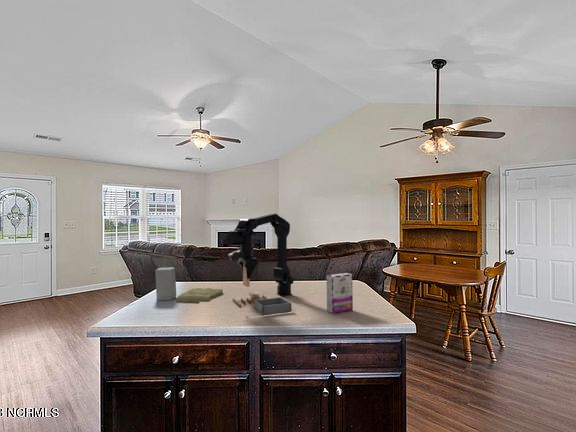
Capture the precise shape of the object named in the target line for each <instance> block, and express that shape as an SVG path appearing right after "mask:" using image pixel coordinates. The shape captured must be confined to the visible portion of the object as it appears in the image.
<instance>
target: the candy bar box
mask: <svg viewBox="0 0 576 432" xmlns="http://www.w3.org/2000/svg"><path fill="white" fill-rule="evenodd" d="M353 296H354V295H353V274H352V273H348V272H343V273H342V272H341V273H334V274H333V273H331V274H327V275H326V312H328V313H330V314H332V315H334V314H339V313H341V314H342V313H347V312H351V311H353V310H354V309H353V308H354V306H353V302H354V300H353Z"/></svg>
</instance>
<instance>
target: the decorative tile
mask: <svg viewBox="0 0 576 432" xmlns="http://www.w3.org/2000/svg"><path fill="white" fill-rule="evenodd" d="M222 295H224V291H223V288H211V287H204V288H203V287H195V288H193V287H192V288H191V289H188V290H186V291H185V292H182V293H180V294H179V295H178V296H176V297H175V303H197V302H198V303H200V302H211V301H212V299H215V298H216V297H219V296H222Z"/></svg>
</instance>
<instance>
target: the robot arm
mask: <svg viewBox="0 0 576 432" xmlns="http://www.w3.org/2000/svg"><path fill="white" fill-rule="evenodd" d="M265 224H270V226H271V227H273V231H274V234H275V236H276V238H277V239H276V240H277V241H276V243H277V244H276V245H277V254H276V255H277V259H276V261H277V263H276V264H277V265H276V266H275V267H273V269H272V270H273V274H272V275H273V279H274V281H275V283H277V286H276V288H277V291H276V294H277V295H279V297H284V296H285V297H286V296H293V293H292V284H294V278H293V276H292V275H291V270H290V268H289V266H288V264H287V263H288V262H287V261H288V259H287V258H288V250H287V249H288V247H287V246H288V245H287V243H288V241H287V240H288V236H289V235H290V231H291V224H290V222H289V221H287V220H286V218H283V217H281V216H280V215H279V214H277V213H269V214H265V215H261V216H258V217H252V218H240V219H239V221H238V223H237V225H236V227H235V229H234V230H233V231H231V230H230V231H228V234H226V237H225V243H226V245H227V246H228V247H235V246H239V247H238V250H235V251H233V252H230V253H227V256H228V258H229V261H231V262H235V261H236V262H237V264H239V266H240V269H241V273H242V275H243V266H244V267H245V268H246V275H247V279H250V278H251V276H252V274H253V273H254V269H255V268H256V266H257V265H259V262H260V261H259V259H258V258H256V257H255V256H254V255H253V250H255V249H254V246H253V236H256V235H257V233H256V232H254V230H255V229H257V228H258V227H259V226H262V225H265Z"/></svg>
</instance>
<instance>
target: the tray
mask: <svg viewBox="0 0 576 432" xmlns="http://www.w3.org/2000/svg"><path fill="white" fill-rule="evenodd" d="M253 308H254V309H256V310H257V311H258V312H259V313H261V314H260V315H261V316H269V315H278V314H284V313H292V303H291V302H290V301H289V300H286V299H284V298H283V297H282V296H279V297H271V298H268V299H260V300H254V306H253Z"/></svg>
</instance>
